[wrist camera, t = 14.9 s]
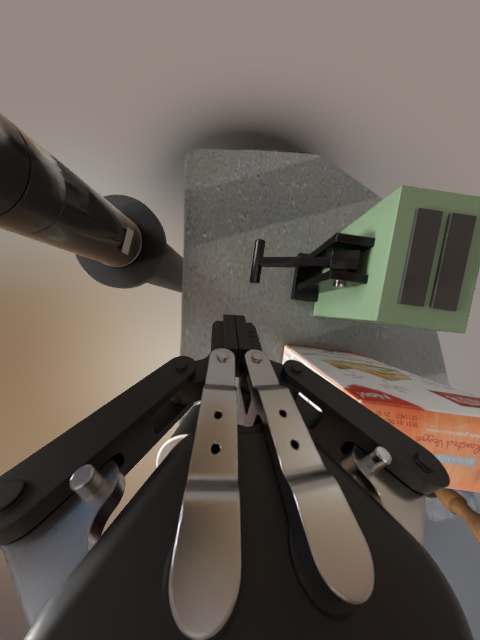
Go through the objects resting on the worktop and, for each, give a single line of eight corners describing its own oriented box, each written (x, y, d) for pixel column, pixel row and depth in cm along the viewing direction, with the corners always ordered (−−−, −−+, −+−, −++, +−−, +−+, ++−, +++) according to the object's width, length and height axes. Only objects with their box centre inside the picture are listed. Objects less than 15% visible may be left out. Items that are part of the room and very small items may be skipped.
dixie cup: (184, 433, 33) (157, 494, 22) (182, 394, 33) (154, 436, 22) (225, 432, 33) (218, 493, 22) (224, 393, 33) (216, 435, 22)
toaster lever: (252, 283, 27) (246, 280, 25) (258, 244, 26) (252, 237, 24) (351, 290, 21) (354, 286, 19) (359, 240, 21) (364, 231, 19)
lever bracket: (290, 298, 32) (324, 291, 19) (297, 254, 31) (337, 217, 19) (317, 302, 32) (369, 298, 19) (324, 258, 31) (382, 224, 19)
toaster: (312, 315, 32) (378, 321, 17) (324, 244, 31) (404, 182, 16) (360, 322, 32) (469, 334, 17) (373, 251, 31) (500, 196, 16)
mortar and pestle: (347, 434, 33) (471, 580, 15) (361, 404, 33) (505, 518, 15) (378, 446, 34) (537, 605, 16) (392, 416, 33) (572, 544, 15)
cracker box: (357, 351, 32) (570, 426, 12) (351, 382, 33) (548, 509, 12) (283, 341, 32) (364, 399, 11) (279, 372, 33) (348, 484, 12)
